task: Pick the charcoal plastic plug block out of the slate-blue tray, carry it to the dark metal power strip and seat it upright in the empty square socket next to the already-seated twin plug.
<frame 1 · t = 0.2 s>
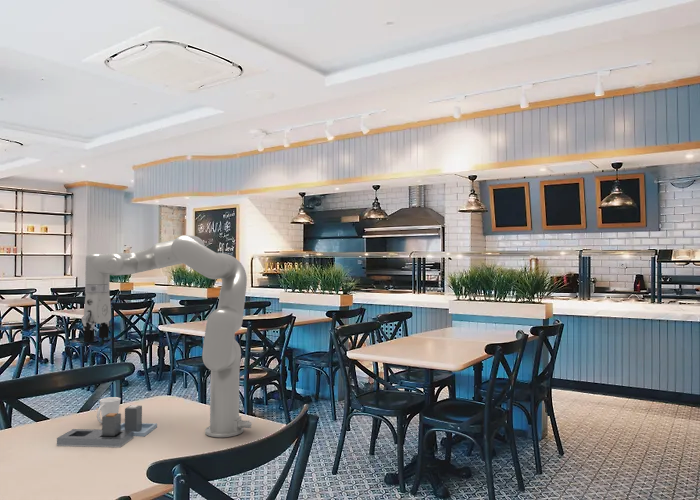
hand: (96, 339, 188), 30 cm above the table, fingers open, 9 cm apart
strip: (95, 443, 173), on the table
plug: (133, 431, 184), point 1 cm above the table, touching tray
cup: (107, 423, 195), on the table
tray: (133, 433, 184), on the table
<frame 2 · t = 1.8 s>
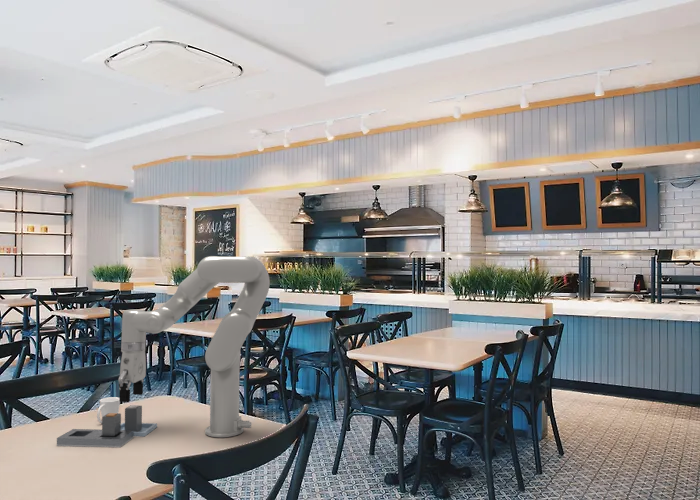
hand: (131, 398, 184), 12 cm above the table, fingers open, 9 cm apart
nothing on the table moved.
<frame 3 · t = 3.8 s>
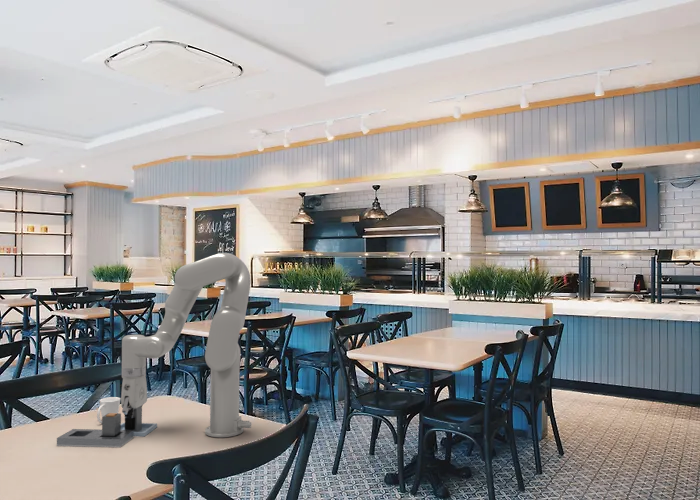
hand: (133, 426, 184), 2 cm above the table, fingers closed on plug, 4 cm apart
plug: (133, 431, 184), point 1 cm above the table, touching gripper, tray
everything else where it was.
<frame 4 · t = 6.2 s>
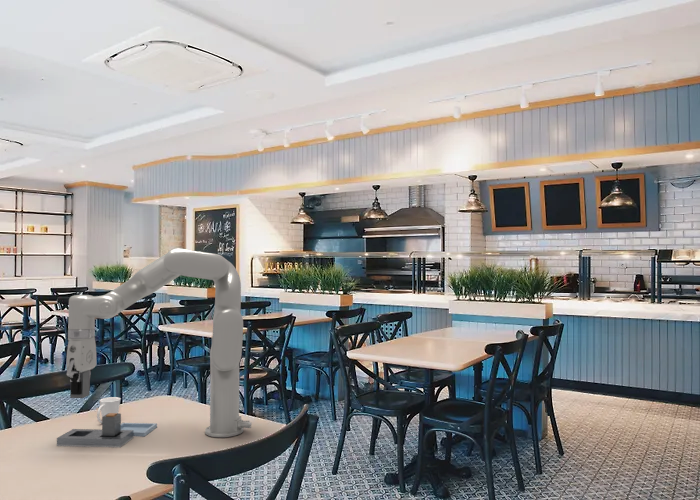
hand: (80, 391, 174), 16 cm above the table, fingers closed on plug, 4 cm apart
plug: (80, 396, 174), point 15 cm above the table, touching gripper
everything else where it was.
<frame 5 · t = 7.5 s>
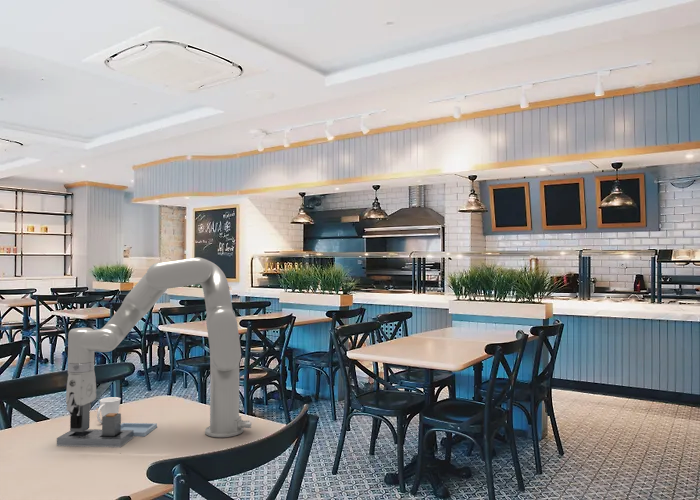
hand: (80, 425, 174), 6 cm above the table, fingers closed on plug, 4 cm apart
plug: (79, 429, 174), point 4 cm above the table, touching gripper
everything else where it was.
when the fingers open (4 cm above the table, at t = 8.8 s): plug drops 1 cm, resting on strip.
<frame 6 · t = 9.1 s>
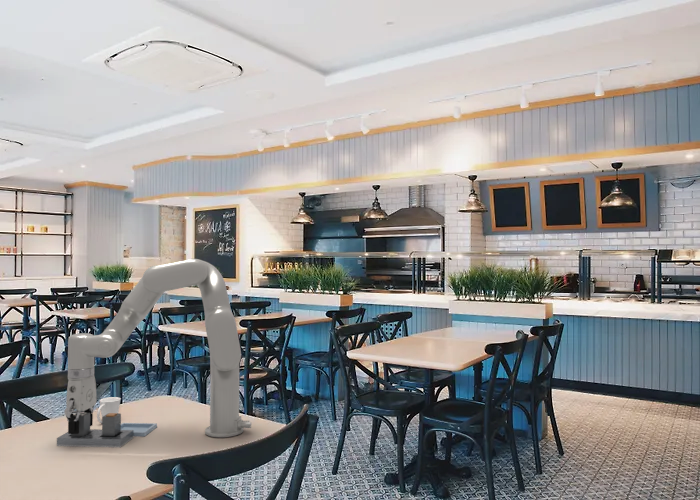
hand: (80, 429, 174), 4 cm above the table, fingers open, 7 cm apart
plug: (80, 439, 174), point 1 cm above the table, touching strip
everything else where it was.
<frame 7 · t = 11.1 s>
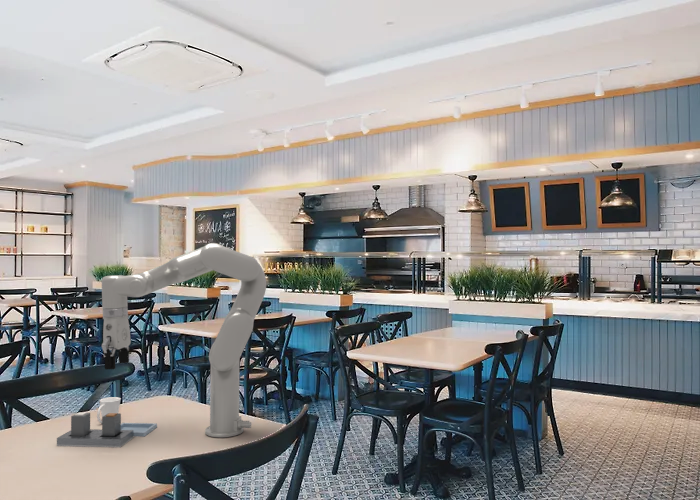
hand: (117, 365, 179), 23 cm above the table, fingers open, 9 cm apart
nothing on the table moved.
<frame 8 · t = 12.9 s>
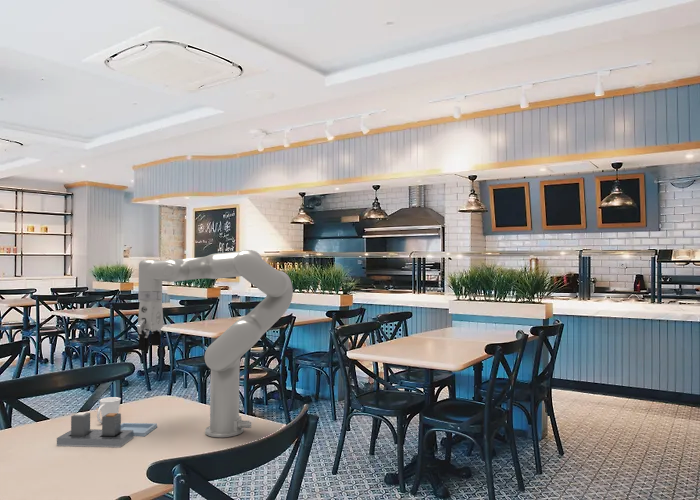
hand: (149, 347, 185), 28 cm above the table, fingers open, 9 cm apart
nothing on the table moved.
at the end: plug 0.1 cm from the target spot on the strip, point 1.0 cm above the strip's base; plug tilted 0°; the gripper is holding nothing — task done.
